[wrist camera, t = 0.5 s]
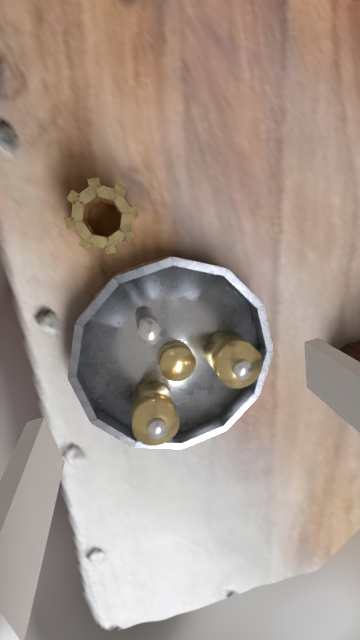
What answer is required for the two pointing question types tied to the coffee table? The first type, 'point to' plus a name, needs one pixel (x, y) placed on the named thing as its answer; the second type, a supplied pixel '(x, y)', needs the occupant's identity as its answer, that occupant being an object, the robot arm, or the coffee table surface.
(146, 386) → the carrier
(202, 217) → the coffee table surface
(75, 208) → the planet gear
